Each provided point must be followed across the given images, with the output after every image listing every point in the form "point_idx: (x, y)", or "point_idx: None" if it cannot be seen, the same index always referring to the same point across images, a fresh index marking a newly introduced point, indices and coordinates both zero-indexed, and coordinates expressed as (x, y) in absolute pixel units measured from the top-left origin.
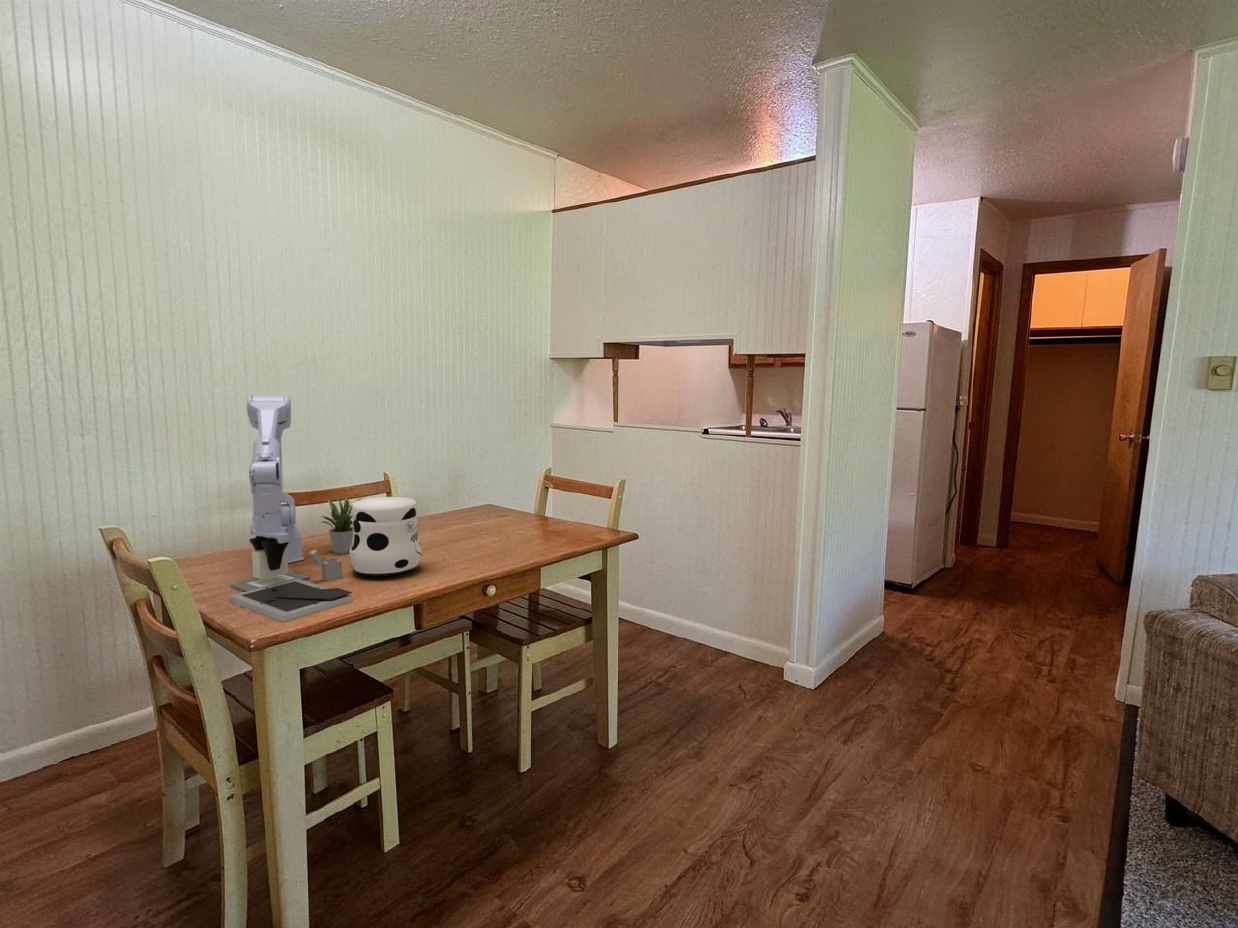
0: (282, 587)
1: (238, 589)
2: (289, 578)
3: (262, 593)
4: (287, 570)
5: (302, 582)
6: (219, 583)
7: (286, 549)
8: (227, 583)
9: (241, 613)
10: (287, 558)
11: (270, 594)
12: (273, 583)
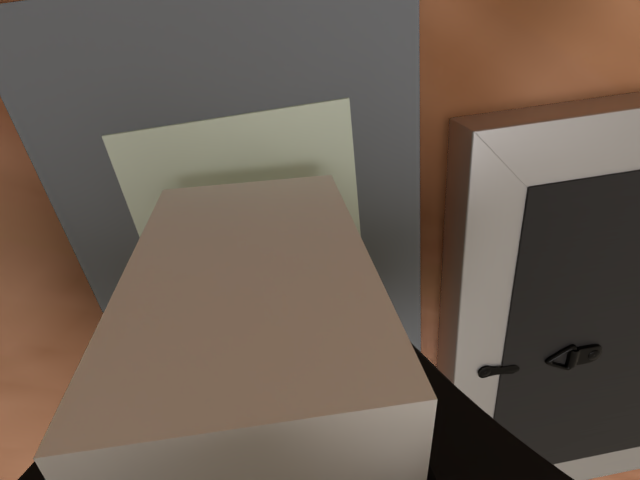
0: (573, 305)
1: None
2: (322, 145)
3: (563, 410)
4: (334, 191)
5: (609, 153)
6: (22, 470)
7: (429, 394)
8: None
9: None
10: (372, 262)
11: (621, 388)
12: None
